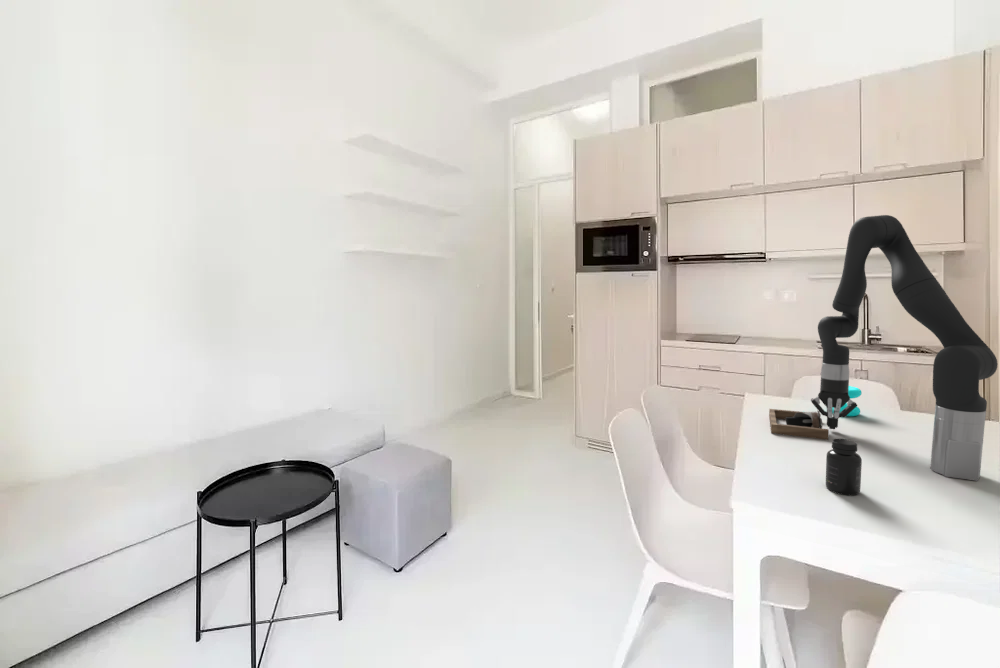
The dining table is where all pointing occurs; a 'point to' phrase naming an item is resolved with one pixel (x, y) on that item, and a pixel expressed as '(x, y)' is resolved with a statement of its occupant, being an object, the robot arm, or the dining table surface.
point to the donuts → (852, 393)
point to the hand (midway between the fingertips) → (832, 428)
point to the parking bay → (792, 429)
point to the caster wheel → (805, 419)
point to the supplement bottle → (843, 467)
